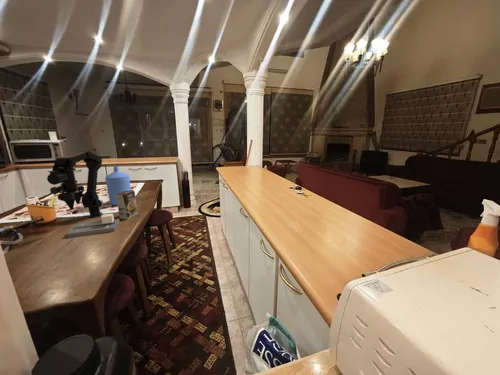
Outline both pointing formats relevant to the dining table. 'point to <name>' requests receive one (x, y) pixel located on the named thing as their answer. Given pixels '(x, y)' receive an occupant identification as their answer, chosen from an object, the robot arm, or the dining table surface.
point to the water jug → (117, 184)
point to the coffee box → (126, 204)
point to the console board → (92, 228)
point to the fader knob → (107, 218)
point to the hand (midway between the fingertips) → (75, 206)
